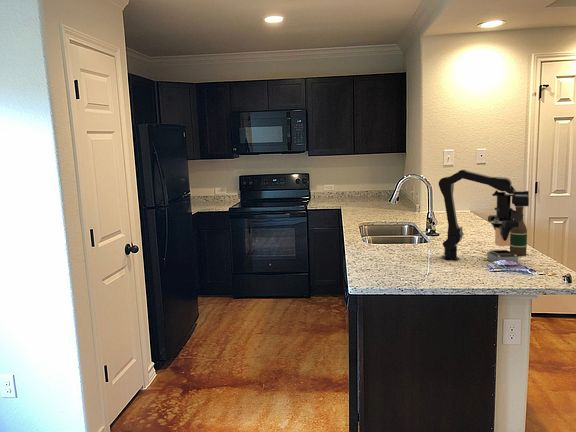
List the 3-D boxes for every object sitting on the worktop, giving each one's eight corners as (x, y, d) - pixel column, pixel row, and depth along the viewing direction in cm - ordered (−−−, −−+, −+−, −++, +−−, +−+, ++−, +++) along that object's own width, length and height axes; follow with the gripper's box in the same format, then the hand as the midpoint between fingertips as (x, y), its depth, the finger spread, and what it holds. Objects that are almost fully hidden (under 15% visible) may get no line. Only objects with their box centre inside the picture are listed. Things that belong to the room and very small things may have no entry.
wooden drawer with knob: (495, 244, 218) (495, 224, 216) (504, 243, 218) (505, 224, 216) (499, 246, 213) (500, 226, 212) (509, 245, 213) (510, 225, 212)
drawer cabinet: (487, 260, 222) (487, 249, 221) (505, 259, 222) (506, 249, 221) (497, 266, 211) (498, 255, 210) (517, 265, 211) (518, 254, 211)
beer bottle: (512, 251, 236) (514, 204, 233) (529, 254, 231) (530, 205, 227) (506, 254, 231) (508, 206, 227) (523, 257, 225) (525, 207, 222)
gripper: (532, 207, 204) (530, 243, 206) (511, 202, 222) (509, 235, 224) (506, 208, 204) (505, 244, 206) (487, 203, 222) (486, 236, 224)
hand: (502, 239), depth 215 cm, fingers closed on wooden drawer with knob, 5 cm apart
